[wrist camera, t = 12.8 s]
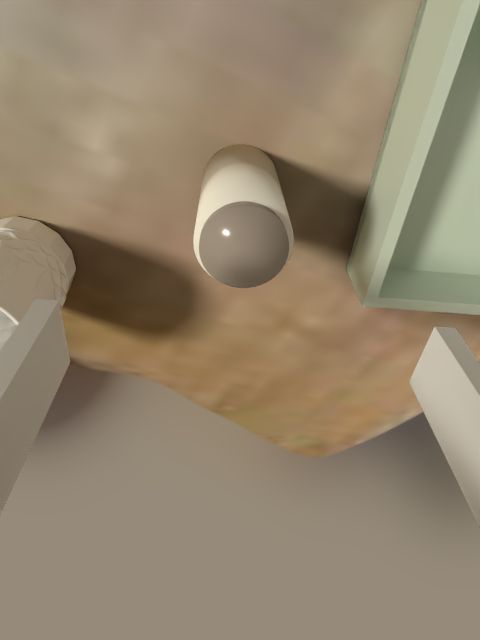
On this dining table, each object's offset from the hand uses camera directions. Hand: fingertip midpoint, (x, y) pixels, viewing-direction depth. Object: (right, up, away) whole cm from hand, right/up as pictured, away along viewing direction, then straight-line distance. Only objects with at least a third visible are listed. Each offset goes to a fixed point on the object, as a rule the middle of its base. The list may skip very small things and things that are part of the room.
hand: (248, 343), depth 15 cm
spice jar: (0, +10, +13) cm, 17 cm away
